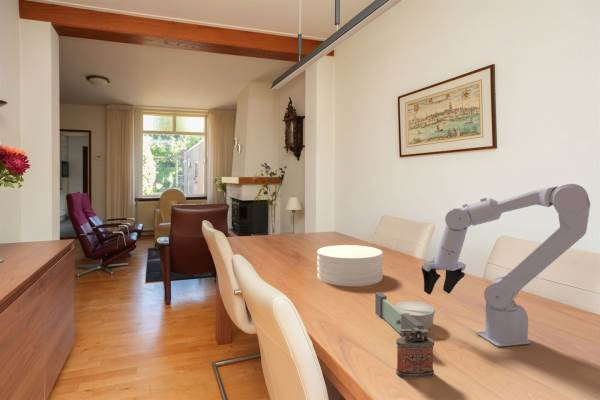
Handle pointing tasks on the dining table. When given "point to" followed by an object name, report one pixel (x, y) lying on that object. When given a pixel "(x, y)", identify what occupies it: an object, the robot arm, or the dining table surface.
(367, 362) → the dining table surface
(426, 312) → the ramekin
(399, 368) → the lighter
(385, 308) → the door
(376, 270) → the plate stack
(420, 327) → the grey angled pieces
